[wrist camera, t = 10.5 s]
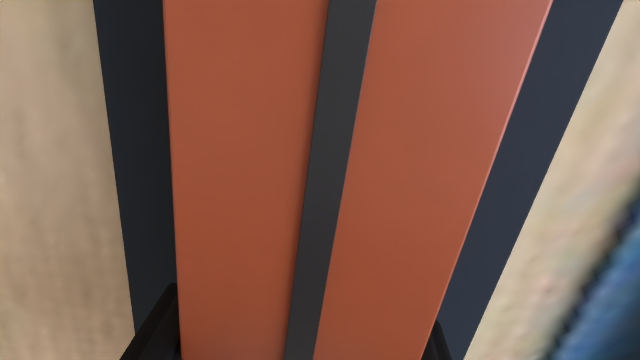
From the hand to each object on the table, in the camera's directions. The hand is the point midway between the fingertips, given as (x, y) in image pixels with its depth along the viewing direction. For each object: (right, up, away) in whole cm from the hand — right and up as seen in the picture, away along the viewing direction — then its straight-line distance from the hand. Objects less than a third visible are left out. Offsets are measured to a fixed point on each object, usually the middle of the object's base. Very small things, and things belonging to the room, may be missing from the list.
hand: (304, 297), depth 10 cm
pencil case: (0, 0, 0) cm, 1 cm away
